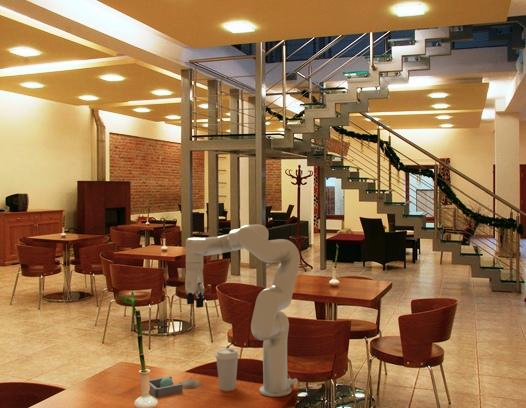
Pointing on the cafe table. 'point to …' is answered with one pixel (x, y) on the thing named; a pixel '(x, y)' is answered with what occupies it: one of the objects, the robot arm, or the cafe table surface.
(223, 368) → the coffee cup
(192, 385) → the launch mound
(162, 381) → the ball
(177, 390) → the tray
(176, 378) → the cafe table surface
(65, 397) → the cafe table surface
